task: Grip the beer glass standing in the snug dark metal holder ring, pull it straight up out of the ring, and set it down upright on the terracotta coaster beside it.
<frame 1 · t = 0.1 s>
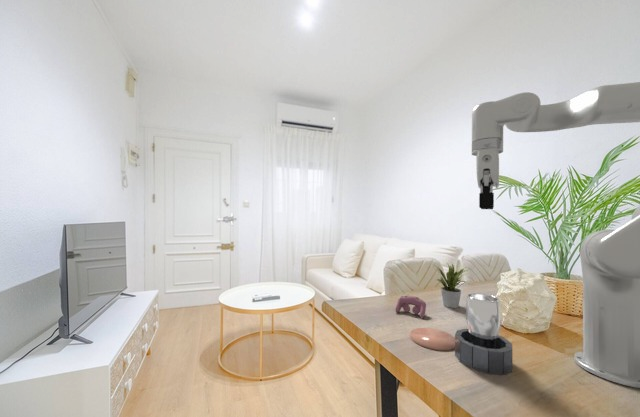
hand: (486, 208, 74), 36 cm above the table, tool pointing down, fingers open, 9 cm apart
video game controller: (410, 314, 92), on the table
coaster: (433, 339, 73), on the table
house plant: (453, 307, 99), on the table
beer glass: (482, 361, 62), resting in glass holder
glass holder: (482, 360, 62), on the table
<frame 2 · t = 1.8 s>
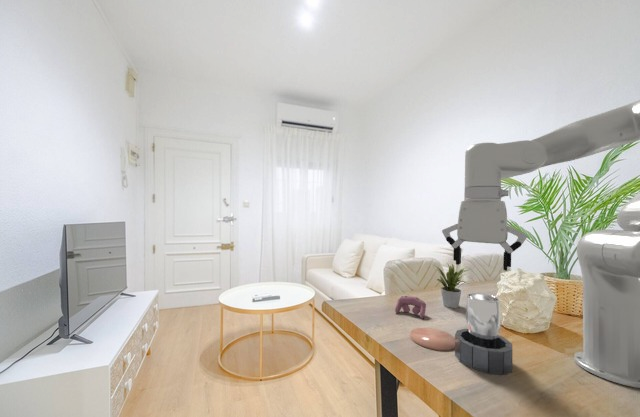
hand: (480, 266, 63), 22 cm above the table, tool pointing down, fingers open, 9 cm apart
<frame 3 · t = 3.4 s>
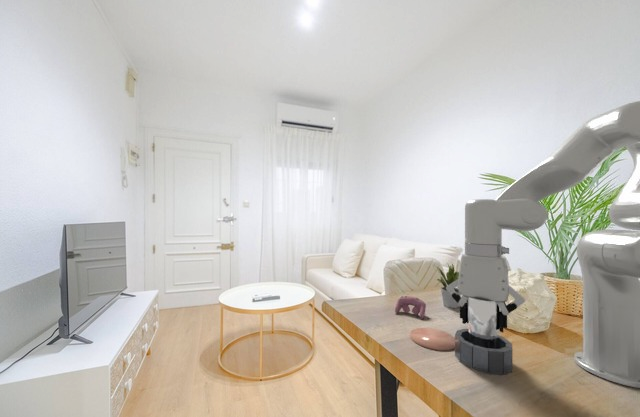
hand: (482, 325, 63), 8 cm above the table, tool pointing down, fingers closed on beer glass, 6 cm apart
beer glass: (482, 361, 62), resting in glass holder, touching gripper
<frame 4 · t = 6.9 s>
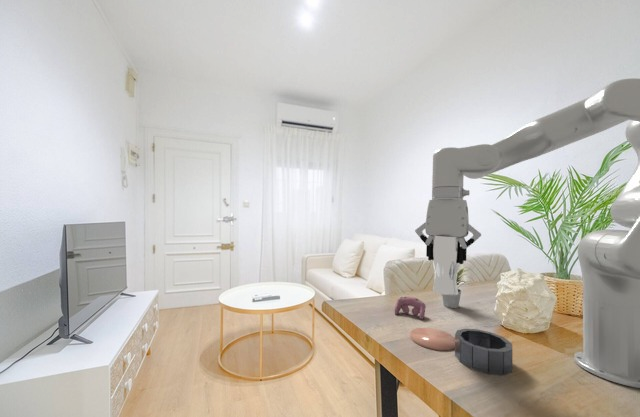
hand: (445, 261, 70), 22 cm above the table, tool pointing down, fingers closed on beer glass, 6 cm apart
beer glass: (445, 292, 70), point 14 cm above the table, touching gripper
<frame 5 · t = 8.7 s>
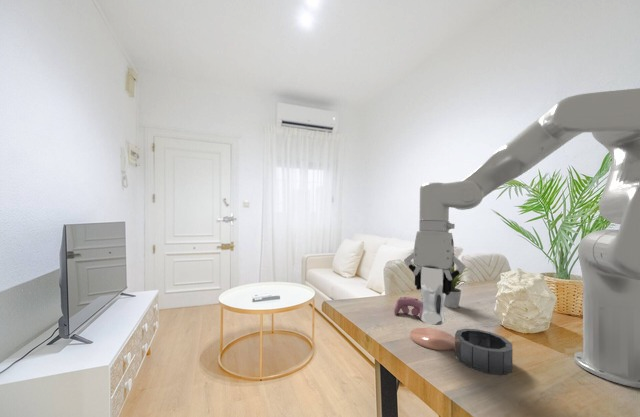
hand: (432, 290, 73), 13 cm above the table, tool pointing down, fingers closed on beer glass, 6 cm apart
beer glass: (432, 321, 73), point 5 cm above the table, touching gripper
when the fingers open (10 cm above the table, at t = 10.3 s): beer glass drops 1 cm, resting on coaster.
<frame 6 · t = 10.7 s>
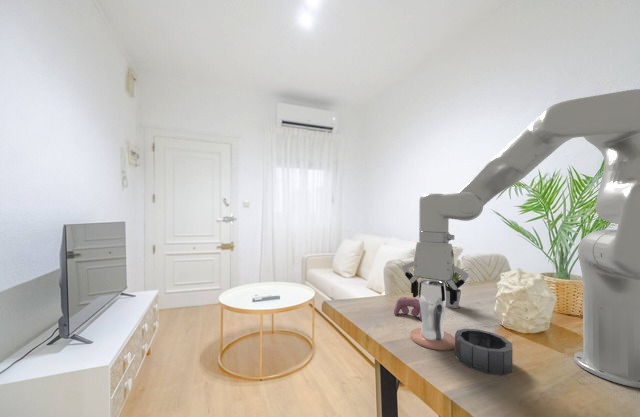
hand: (433, 299, 73), 11 cm above the table, tool pointing down, fingers open, 9 cm apart
beer glass: (432, 337, 73), resting on coaster
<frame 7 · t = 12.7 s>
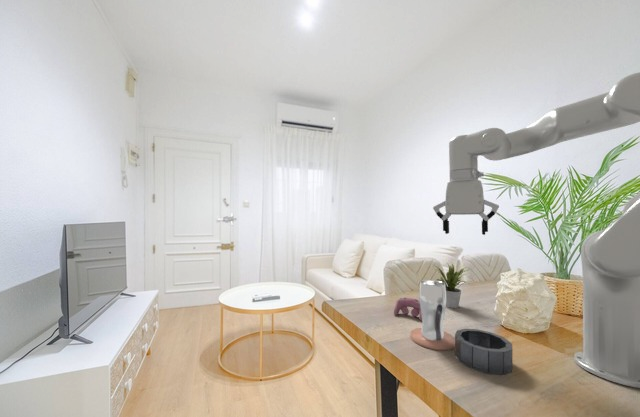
hand: (464, 234, 79), 29 cm above the table, tool pointing down, fingers open, 9 cm apart
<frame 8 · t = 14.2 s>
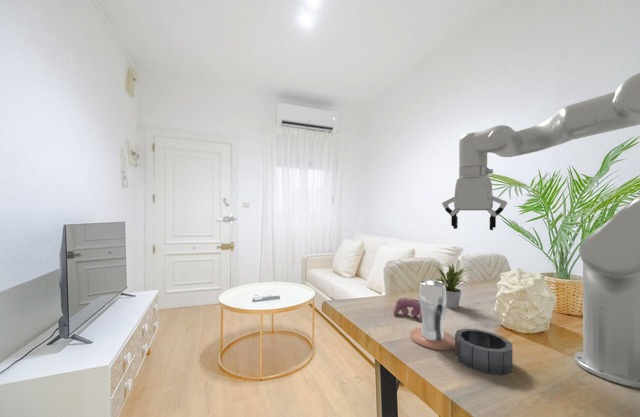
hand: (472, 229, 81), 30 cm above the table, tool pointing down, fingers open, 9 cm apart
at the end: beer glass 0.2 cm from the coaster (horizontally); beer glass tilted 0°; beer glass touching coaster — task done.
